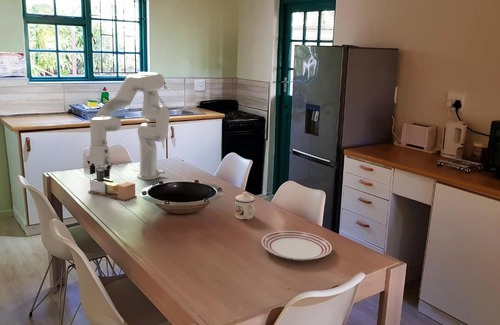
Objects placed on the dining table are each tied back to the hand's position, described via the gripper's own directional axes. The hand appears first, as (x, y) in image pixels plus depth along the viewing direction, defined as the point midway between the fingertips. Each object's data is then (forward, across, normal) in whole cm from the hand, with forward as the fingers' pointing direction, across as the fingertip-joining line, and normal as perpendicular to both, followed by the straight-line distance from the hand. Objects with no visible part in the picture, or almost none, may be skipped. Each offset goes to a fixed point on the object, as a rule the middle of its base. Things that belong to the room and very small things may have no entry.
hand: (99, 175), depth 240 cm
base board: (+9, -8, 0) cm, 12 cm away
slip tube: (+7, -4, 0) cm, 8 cm away
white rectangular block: (+8, -1, 0) cm, 8 cm away
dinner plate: (+10, -113, +10) cm, 114 cm away
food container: (+10, +10, -14) cm, 20 cm away
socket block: (+9, -18, 0) cm, 20 cm away
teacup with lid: (+10, -80, -11) cm, 81 cm away
